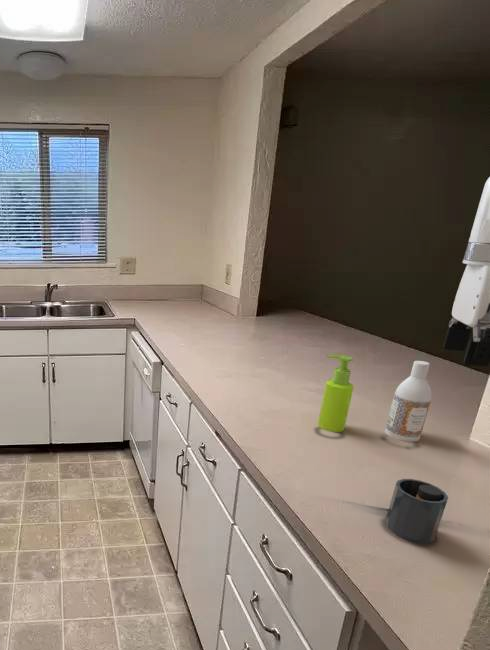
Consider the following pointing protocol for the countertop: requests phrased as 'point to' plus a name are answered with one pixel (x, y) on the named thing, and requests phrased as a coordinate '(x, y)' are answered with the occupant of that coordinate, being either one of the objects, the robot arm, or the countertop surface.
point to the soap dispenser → (336, 397)
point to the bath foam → (410, 405)
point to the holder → (414, 512)
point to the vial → (428, 493)
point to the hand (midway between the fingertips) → (463, 356)
